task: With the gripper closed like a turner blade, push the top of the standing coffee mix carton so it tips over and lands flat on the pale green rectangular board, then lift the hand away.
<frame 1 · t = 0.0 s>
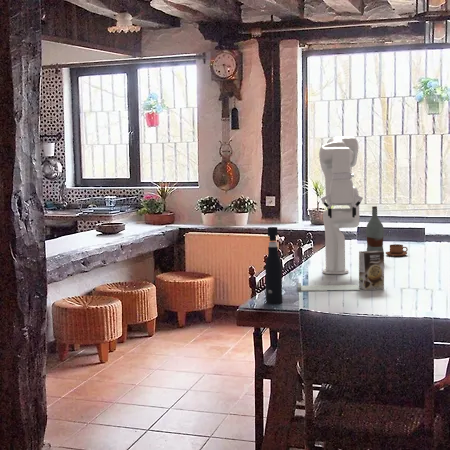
hand: (342, 217, 295), 31 cm above the table, tool pointing down, fingers open, 9 cm apart
coffee box: (371, 288, 300), on the table
vodka: (375, 263, 371), on the table
wine bottle: (274, 302, 277), on the table
cup and saucer: (396, 256, 394), on the table
pale green rectangular board: (328, 288, 302), on the table
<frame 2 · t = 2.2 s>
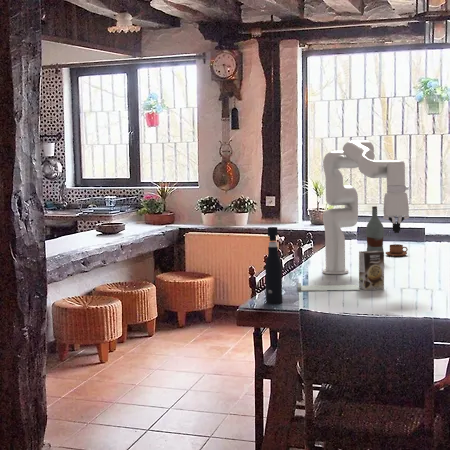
hand: (396, 232, 297), 24 cm above the table, tool pointing down, fingers closed
nothing on the table moved.
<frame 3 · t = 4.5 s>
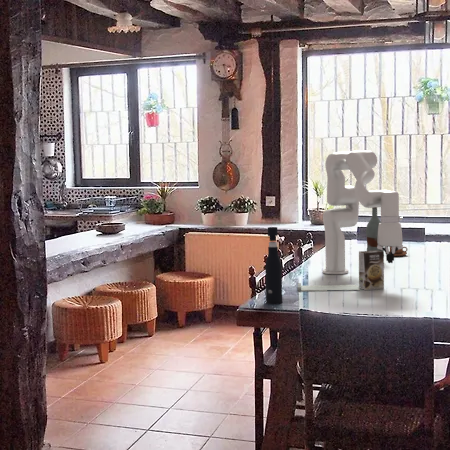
hand: (390, 262, 298), 11 cm above the table, tool pointing down, fingers closed
coffee box: (371, 288, 300), on the table, touching gripper
everything else where it was.
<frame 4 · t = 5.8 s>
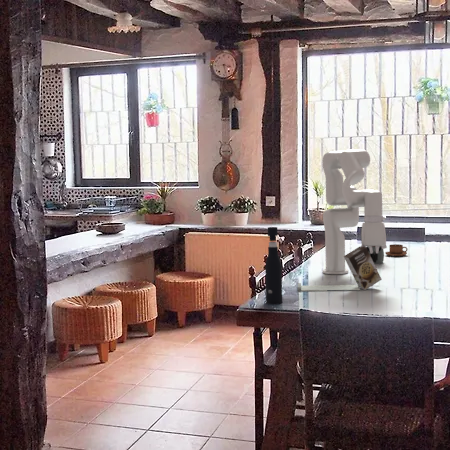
hand: (374, 262, 299), 11 cm above the table, tool pointing down, fingers closed
coffee box: (370, 284, 300), point 2 cm above the table, touching gripper
everything else where it was.
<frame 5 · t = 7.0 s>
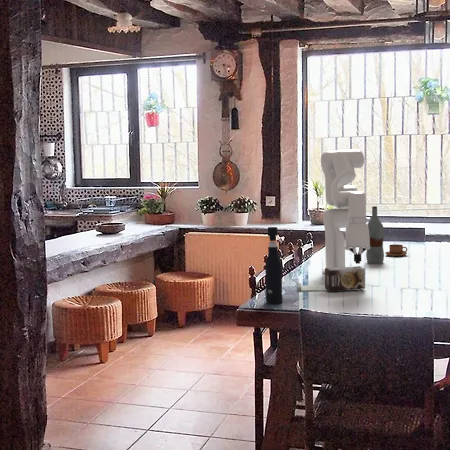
hand: (357, 263, 300), 11 cm above the table, tool pointing down, fingers closed
coffee box: (363, 277, 298), point 5 cm above the table, touching pale green rectangular board
everything else where it was.
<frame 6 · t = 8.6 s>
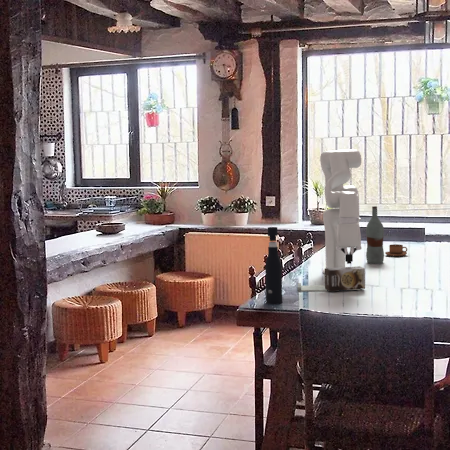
hand: (349, 263, 300), 11 cm above the table, tool pointing down, fingers closed
nothing on the table moved.
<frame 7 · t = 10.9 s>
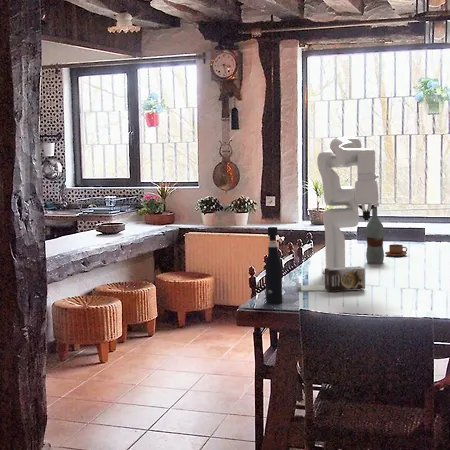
hand: (366, 220, 301), 29 cm above the table, tool pointing down, fingers closed
nothing on the table moved.
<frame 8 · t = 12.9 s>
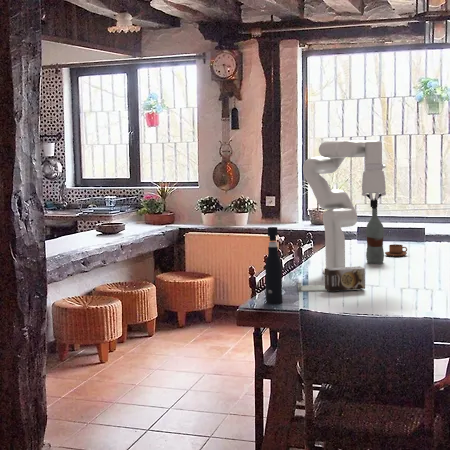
hand: (374, 208, 314), 33 cm above the table, tool pointing down, fingers closed
nothing on the table moved.
at the end: coffee box tilted 91°; coffee box inside the target area (8.4 cm from its centre), point 5.2 cm above the table; the gripper is holding nothing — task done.
